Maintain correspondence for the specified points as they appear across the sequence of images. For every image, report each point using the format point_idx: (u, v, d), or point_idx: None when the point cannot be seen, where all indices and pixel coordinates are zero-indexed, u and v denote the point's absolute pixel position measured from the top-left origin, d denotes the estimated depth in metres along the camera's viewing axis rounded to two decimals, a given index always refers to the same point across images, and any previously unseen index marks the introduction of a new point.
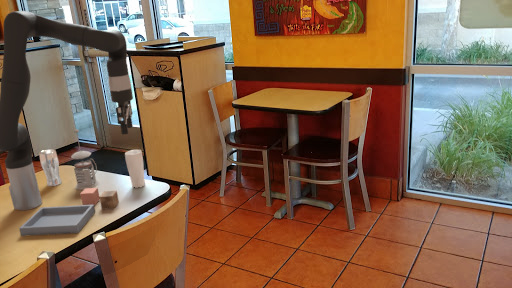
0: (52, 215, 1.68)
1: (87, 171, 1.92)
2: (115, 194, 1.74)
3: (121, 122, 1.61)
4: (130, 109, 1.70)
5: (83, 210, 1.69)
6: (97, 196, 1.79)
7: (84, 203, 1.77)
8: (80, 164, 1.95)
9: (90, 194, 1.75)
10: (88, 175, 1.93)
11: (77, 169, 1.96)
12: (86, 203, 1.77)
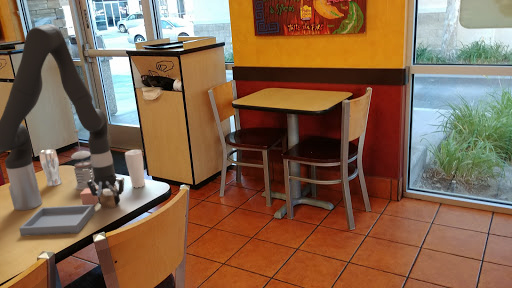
0: (52, 215, 1.68)
1: (87, 171, 1.92)
2: None
3: (122, 191, 1.73)
4: None
5: (83, 210, 1.69)
6: None
7: (84, 203, 1.77)
8: (80, 164, 1.95)
9: (90, 194, 1.75)
10: (88, 175, 1.93)
11: (77, 169, 1.96)
12: (86, 203, 1.77)
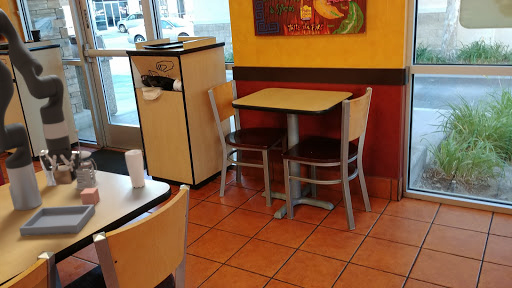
0: (52, 215, 1.68)
1: (87, 171, 1.92)
2: None
3: (79, 166, 1.59)
4: None
5: (83, 210, 1.69)
6: (97, 196, 1.79)
7: (84, 203, 1.77)
8: None
9: (90, 194, 1.75)
10: (88, 175, 1.93)
11: (77, 169, 1.96)
12: (86, 203, 1.77)
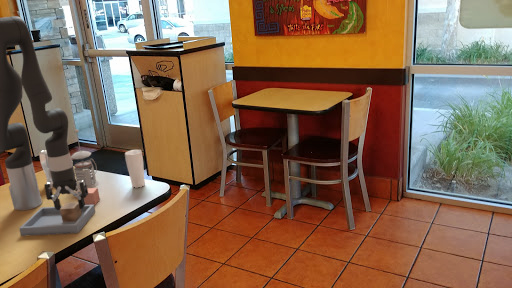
0: (52, 215, 1.68)
1: (87, 171, 1.92)
2: (77, 206, 1.64)
3: (86, 194, 1.62)
4: None
5: (83, 210, 1.69)
6: (97, 196, 1.79)
7: None
8: (80, 164, 1.95)
9: (90, 194, 1.75)
10: (88, 175, 1.93)
11: (77, 169, 1.96)
12: (86, 203, 1.77)
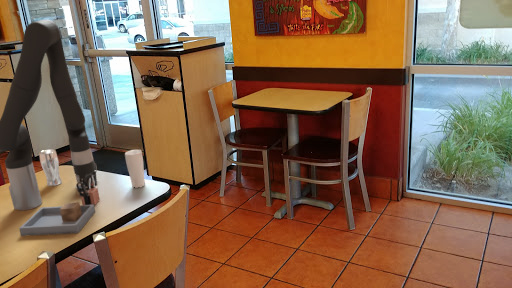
0: (52, 215, 1.68)
1: None
2: (77, 206, 1.64)
3: None
4: None
5: (83, 210, 1.69)
6: (97, 196, 1.79)
7: (84, 203, 1.76)
8: None
9: (90, 194, 1.75)
10: None
11: None
12: None
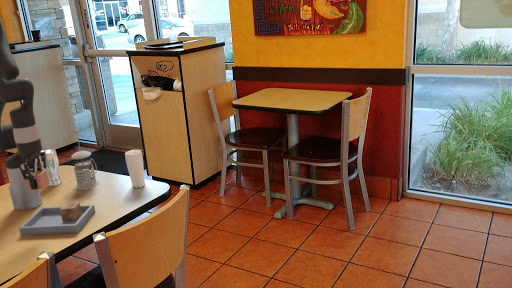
0: (52, 215, 1.68)
1: (87, 171, 1.92)
2: (77, 206, 1.64)
3: None
4: None
5: (83, 210, 1.69)
6: (46, 180, 1.57)
7: (30, 187, 1.55)
8: (80, 164, 1.95)
9: (37, 177, 1.54)
10: (88, 175, 1.93)
11: (77, 169, 1.96)
12: None
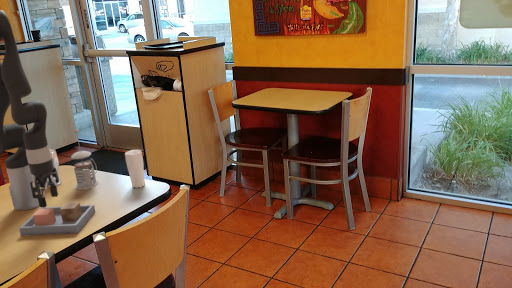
0: None
1: (87, 171, 1.92)
2: (77, 206, 1.64)
3: None
4: None
5: (83, 210, 1.69)
6: (52, 217, 1.61)
7: None
8: (80, 164, 1.95)
9: (44, 216, 1.57)
10: (88, 175, 1.93)
11: (77, 169, 1.96)
12: None
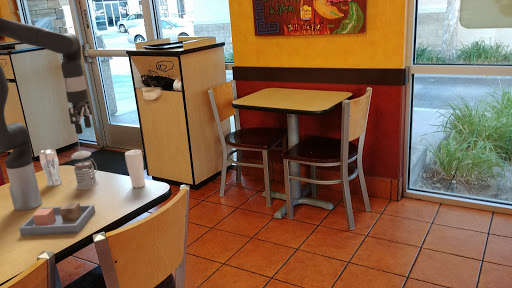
0: None
1: (87, 171, 1.92)
2: (77, 206, 1.64)
3: None
4: None
5: (83, 210, 1.69)
6: (52, 217, 1.61)
7: None
8: (80, 164, 1.95)
9: (44, 216, 1.57)
10: (88, 175, 1.93)
11: (77, 169, 1.96)
12: None
